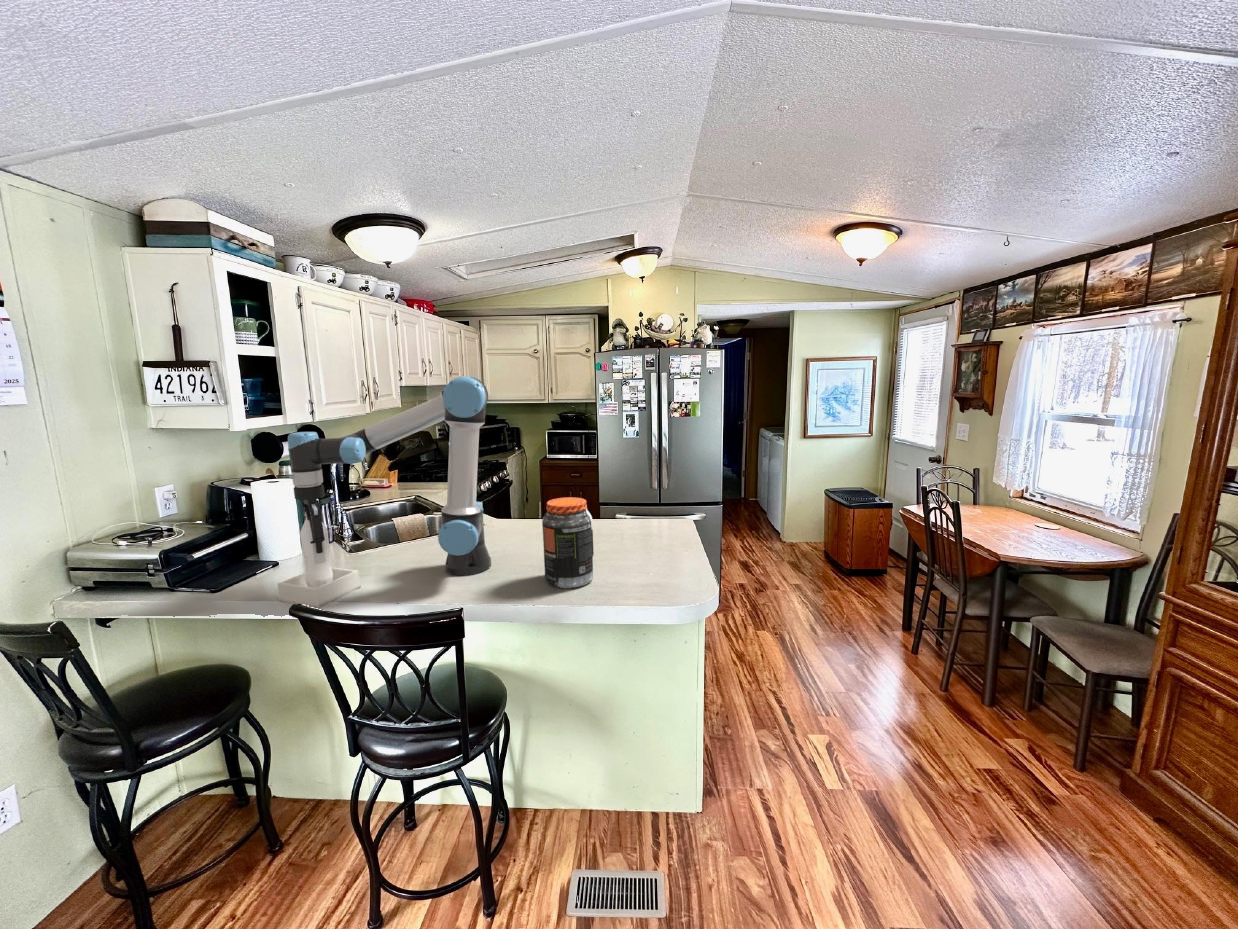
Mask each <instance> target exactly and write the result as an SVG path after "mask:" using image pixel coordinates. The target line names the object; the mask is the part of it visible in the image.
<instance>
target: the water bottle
mask: <svg viewBox="0 0 1238 929" xmlns="http://www.w3.org/2000/svg"><path fill="white" fill-rule="evenodd" d="M305 513H306V512H305ZM305 516H306V514H305ZM303 522H304V521H303ZM322 526H323V532H324V538H325V540H324V541H323V543H324V551H325V560H326V562H325V563H320V564H315V561H314V553H313V545H312V544H311V543H310V542H311V541H313V538H312V533H311V527H310V522H309V521H308V520H307V517H306V519H305V522H304V523H303V524H302V527H301V529H300V532H299V538H300V542H301V543H300V544H301V550H302V551H301V552H302V555H303V559H304V563H305V573H306V576H305V580H306V584H307V586H308V587H314V588H317V587H320V586H322V585H324V584H327V583H329V582H331V581H332V580H333V572H332V569H331V567H332V565H331V561H330V542H329V531H328V528H327V526H326V525H325V524H324V522H323V521H322ZM318 538H319V537H318Z"/></svg>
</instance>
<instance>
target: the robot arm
mask: <svg viewBox="0 0 1238 929" xmlns="http://www.w3.org/2000/svg"><path fill="white" fill-rule="evenodd" d="M488 401H489V392H488V389H487V386H486V385H485V384H484V383H483V382H482V381H481V380H480V379H478V378H476V377H472V376H467V375H464V376H461V375H460V376H457V377H455V378H453V379H452V380H450V381H449V382H448V383H447V385H445V387H444V390H442V391H440V393H439V396H435V397H434V398H432V399H430V400H427V401H424V402H423V403H420V404H418V405H416V406H414V407H411V408H408V409H406V410H404V411H401V412H399V413H397V414H394V415H393V416H390V417H388V418H385V419H383V420H381V421H378V422H376V423H374V424H372V425H370V426H367V427H365V428H363V429H361V430H357V431H355V432H353V433H351V434H348V435H344V436H341V437H332V438H331V437H330V438H329V437H328V438H319V435H318V432H316V431H299V432H292V433H289V434H288V436H287V447H288V448H287V451H288V456H289V462H290V467H291V469H290V471H291V474H292V475H290V476H289V479H291V480H292V484H293V486H294V487H293V495H294V499H295V500H297V501H301V507H302V511H303V512H302V513H303V522H305V519H306V517H307V520H308V521H309V522H310V527H311V533H312V538H313V541H311V542H310V543H311V544H312V545H313V553H314V561H315V564H320V563H325V562H326V560H325V551H324V543H323V541H324V540H325V538H324V532H323V526H322V522H323V520H322V512H321V511H322V509H321V505H320V503H318V502H317V500H318V499H322V498H323V497H324V496H325V494H326V493H325V486H324V484H323V482H324V476H323V469H322V465H329V464H330V465H331V464H332V465H337V464H338V465H339V464H350V465H352V464H356V463H362V462H363V461H364V460H365V458H366V455H369V454H370V453H372V452H375V451H376V450H379V449H381V448H384V447H386V446H388V445H391V444H392V443H394V442H397V441H400V440H401V439H404V438H407V437H409V436H411V435H413V434H415V433H418V432H420V431H423V430H425V429H427V428H429V427H431V426H434V425H435V424H439V423H441V422H443V421H444V422H445V423H446V424H447V425H448V426H449V438H448V439H449V440H448V441H449V442H448V468H447V469H448V470H447V489H446V490H447V492H446V493H447V498H446V504H445V505H444V506H443V507H442V508H441V511H440V513H441V514H440V515H441V517H440V528H439V530H438V533H437V540H438V544H439V546H440V548H441V550H443V551H444V552H446V553H447V556H446V559H445V560H446V561H445V564H444V567H445V572H446V573H447V574H449V573H450V574H449V575H453V576H471V575H470V574H472V575H474V574H473V573H477V574H479V572H480V573H483V572H485V571H484V570H486V571H487V570H489V569H490V568H491V567H492V558H491V556H490V555H489V554H490V553H489V551H488V549H487V546H486V542H485V541H486V540H485V527H484V525H485V524H484V508H483V503H482V502H481V501H477V491H478V490H477V489H478V488H477V486H478V485H477V484H478V466H479V465H478V464H479V448H480V447H479V446H480V445H479V443H480V442H479V440H480V428H481V427H483V425H485V423H486V406H487V404H488ZM305 512H306V513H305ZM305 514H306V516H305ZM318 537H319V538H318ZM489 567H490V568H489ZM482 571H483V572H482Z"/></svg>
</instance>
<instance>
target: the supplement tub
mask: <svg viewBox="0 0 1238 929" xmlns="http://www.w3.org/2000/svg"><path fill="white" fill-rule="evenodd" d="M545 508H546V512H545V514H544V515H543V517H542V521H541V524H542V525H541V526H542V542H543V543H542V544H543V557H544V558H543V559H544V560H543V561H544V578H545V581H546V582H547V584H548V585H550V584H551V585H550V586H552V587H555V586H556V587H555V588H559V587H560V589H572V587H573V588H577V587H582V586H585V585H587V584H590V583H591V582H592V581H593V580H594V577H595V558H594V555H595V554H594V553H595V552H594V528H593V527H594V526H593V524H594V523H593V516H592V514H591V512H590V511H589V510H588V504H587V500H586V499H585V498H582V497H573V496H572V497H571V496H570V497H569V496H568V497H566V496H565V497H559V498H557V497H556V498H553V499H550V500H548V501H547V502H546V507H545Z"/></svg>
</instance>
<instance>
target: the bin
mask: <svg viewBox="0 0 1238 929" xmlns="http://www.w3.org/2000/svg"><path fill="white" fill-rule="evenodd" d="M331 569H332V572H333V580H332V581H331V582H329V583H327V584H324V585H322V586H320V587H317V588H314V587H308V586H307V584H306V580H305V576H306V572H303V573H301V574H298V575H295V576H292V577H291V578H288V579H286V580H283V581H281V582H278V583H277V590H278V598H279V602H280V603H281V602H283V603H288V604H293V605H298V604H305V605H309V606H308V607H310V606H313V607H312V608H316V607H317V609H319V608H321V607H323V606H325V605H327V604H329V603H332V602H334V601H335V600H338V599H339V598H341V597H344V596H347V595H349V594H350V593H352V592H354V591H357V590H359V589H360V588H361V579H360V571H359V570H356V569H349V568H340V567H335V566H334V567H333V566H331Z"/></svg>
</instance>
